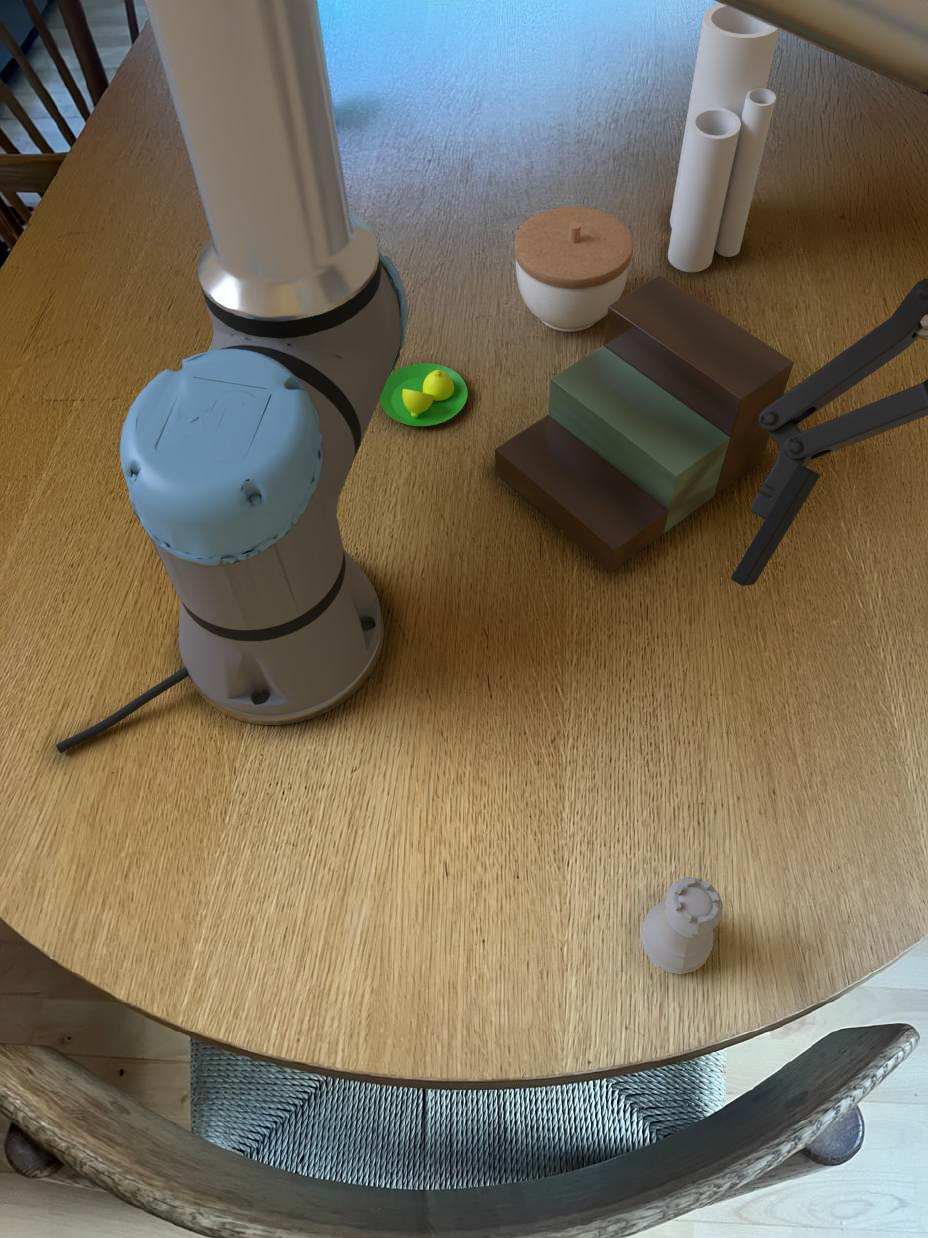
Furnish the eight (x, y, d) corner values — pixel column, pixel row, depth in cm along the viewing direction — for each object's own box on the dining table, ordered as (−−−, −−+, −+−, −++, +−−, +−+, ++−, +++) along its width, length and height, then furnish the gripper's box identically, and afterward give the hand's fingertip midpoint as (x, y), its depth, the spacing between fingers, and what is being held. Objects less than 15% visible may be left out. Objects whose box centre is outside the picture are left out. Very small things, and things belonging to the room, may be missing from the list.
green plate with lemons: (452, 438, 86) (451, 415, 84) (367, 421, 87) (363, 397, 85) (478, 377, 90) (477, 353, 88) (396, 361, 92) (393, 337, 89)
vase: (669, 202, 104) (702, -1, 87) (739, 206, 103) (785, 2, 86) (667, 270, 98) (701, 66, 81) (740, 275, 97) (791, 69, 80)
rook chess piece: (715, 976, 61) (742, 940, 54) (642, 976, 61) (660, 940, 54) (706, 904, 63) (731, 861, 56) (636, 904, 63) (653, 861, 56)
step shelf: (610, 573, 78) (625, 480, 68) (494, 473, 84) (494, 375, 74) (762, 460, 84) (794, 361, 74) (643, 375, 90) (660, 273, 81)
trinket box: (617, 354, 91) (629, 269, 83) (504, 341, 93) (505, 256, 85) (630, 281, 97) (642, 194, 89) (523, 270, 98) (525, 184, 91)
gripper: (1434, 372, 41) (1110, 782, 47) (877, 163, 50) (671, 529, 56) (1518, 340, 34) (1128, 822, 40) (858, 106, 43) (628, 527, 50)
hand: (861, 652), depth 48 cm, fingers open, 13 cm apart
